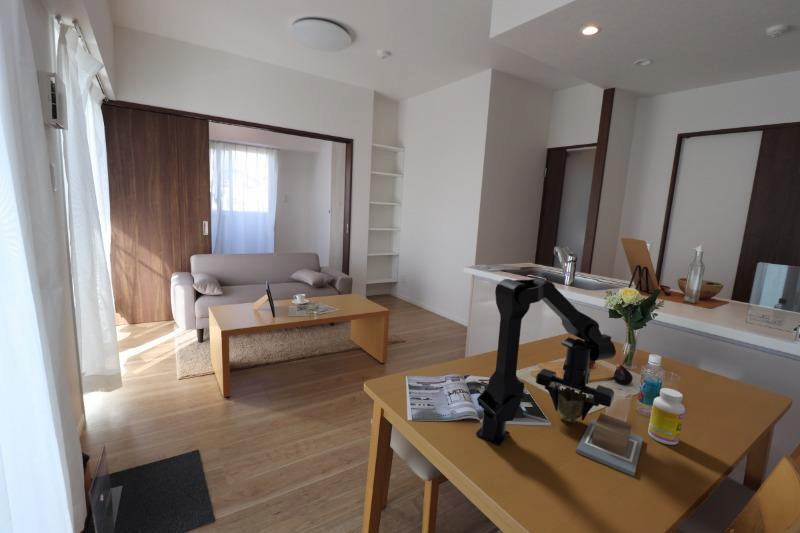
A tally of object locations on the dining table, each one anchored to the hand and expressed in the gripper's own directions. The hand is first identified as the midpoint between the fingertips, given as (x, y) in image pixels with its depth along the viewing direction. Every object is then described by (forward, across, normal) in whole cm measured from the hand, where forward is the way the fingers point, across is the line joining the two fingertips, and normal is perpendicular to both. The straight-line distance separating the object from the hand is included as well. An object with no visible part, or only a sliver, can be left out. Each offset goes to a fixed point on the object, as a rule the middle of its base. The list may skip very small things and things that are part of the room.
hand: (569, 415), depth 103 cm
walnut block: (+1, -11, +5) cm, 12 cm away
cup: (+2, 0, 0) cm, 2 cm away
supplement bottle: (+2, -21, -9) cm, 23 cm away
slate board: (+2, -11, +5) cm, 12 cm away
